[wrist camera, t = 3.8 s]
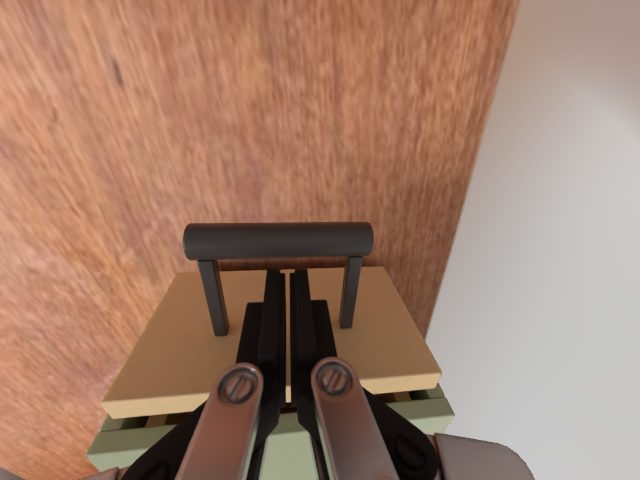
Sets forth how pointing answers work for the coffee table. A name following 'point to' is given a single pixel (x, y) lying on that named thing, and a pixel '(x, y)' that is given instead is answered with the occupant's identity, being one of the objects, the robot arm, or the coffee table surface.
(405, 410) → the cabinet
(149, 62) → the coffee table surface
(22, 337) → the coffee table surface
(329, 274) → the drawer
